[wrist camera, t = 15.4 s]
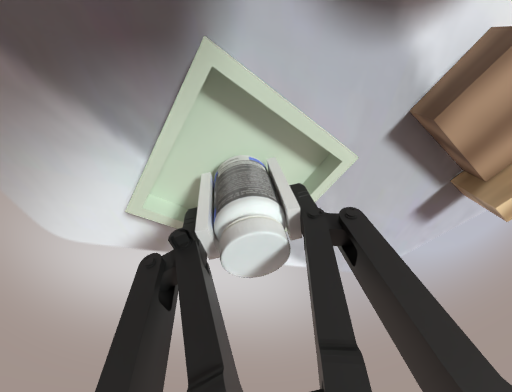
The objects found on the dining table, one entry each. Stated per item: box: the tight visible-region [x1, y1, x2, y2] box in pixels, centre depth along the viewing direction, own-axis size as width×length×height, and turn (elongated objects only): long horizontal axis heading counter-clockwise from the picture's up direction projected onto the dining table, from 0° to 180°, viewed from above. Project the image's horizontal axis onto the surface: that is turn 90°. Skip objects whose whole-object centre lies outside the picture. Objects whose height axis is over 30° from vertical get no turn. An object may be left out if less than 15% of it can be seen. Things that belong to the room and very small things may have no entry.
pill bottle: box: [214, 155, 290, 278], centre depth 15 cm, size 5×5×8 cm
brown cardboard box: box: [410, 26, 512, 182], centre depth 19 cm, size 12×7×3 cm, turn 56°
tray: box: [125, 36, 359, 232], centre depth 18 cm, size 14×14×3 cm
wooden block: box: [451, 164, 512, 222], centre depth 22 cm, size 4×6×5 cm, turn 145°
